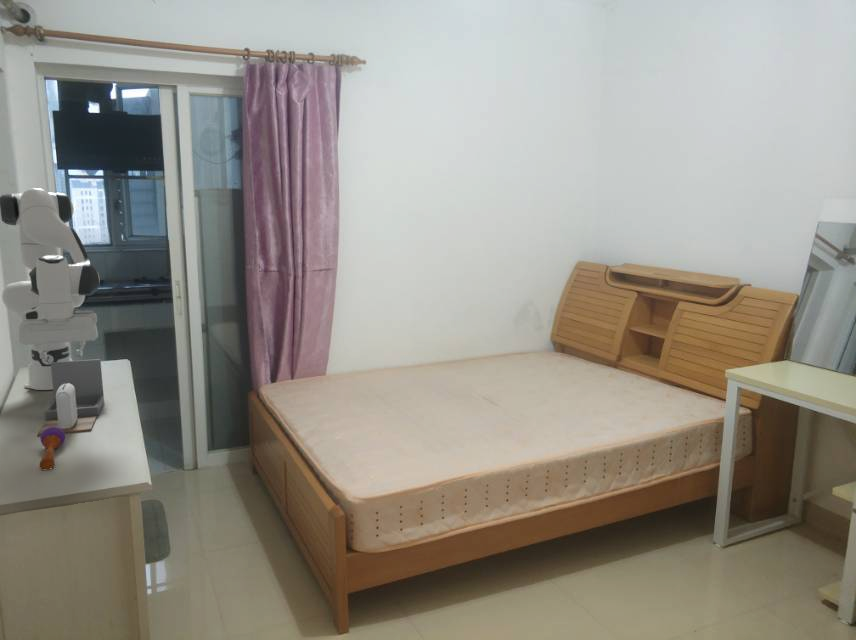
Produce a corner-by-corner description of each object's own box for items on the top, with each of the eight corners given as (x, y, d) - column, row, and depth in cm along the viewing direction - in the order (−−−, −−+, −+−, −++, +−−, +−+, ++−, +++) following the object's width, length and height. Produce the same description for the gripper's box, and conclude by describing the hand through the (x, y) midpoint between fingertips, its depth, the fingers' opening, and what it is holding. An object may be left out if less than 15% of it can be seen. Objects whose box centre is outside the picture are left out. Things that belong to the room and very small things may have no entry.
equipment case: (55, 406, 214) (51, 362, 211) (104, 401, 219) (100, 359, 216) (46, 420, 200) (41, 374, 197) (98, 415, 205) (94, 370, 202)
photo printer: (63, 419, 200) (59, 381, 197) (78, 418, 201) (75, 379, 199) (57, 430, 190) (53, 390, 188) (73, 428, 192) (69, 388, 189)
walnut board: (46, 422, 199) (46, 420, 199) (96, 417, 204) (96, 415, 204) (37, 436, 187) (37, 434, 187) (91, 430, 192) (90, 428, 192)
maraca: (29, 458, 162) (38, 427, 179) (37, 478, 164) (45, 445, 181) (56, 450, 164) (62, 420, 181) (63, 470, 166) (68, 439, 183)
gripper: (97, 307, 195) (101, 352, 198) (20, 311, 188) (25, 357, 191) (95, 311, 189) (99, 356, 192) (14, 314, 182) (20, 362, 185)
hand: (61, 357), depth 191 cm, fingers open, 8 cm apart
